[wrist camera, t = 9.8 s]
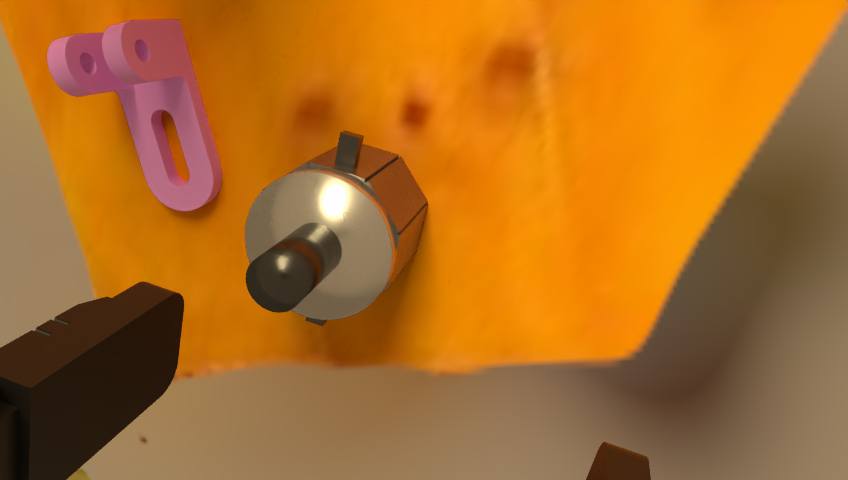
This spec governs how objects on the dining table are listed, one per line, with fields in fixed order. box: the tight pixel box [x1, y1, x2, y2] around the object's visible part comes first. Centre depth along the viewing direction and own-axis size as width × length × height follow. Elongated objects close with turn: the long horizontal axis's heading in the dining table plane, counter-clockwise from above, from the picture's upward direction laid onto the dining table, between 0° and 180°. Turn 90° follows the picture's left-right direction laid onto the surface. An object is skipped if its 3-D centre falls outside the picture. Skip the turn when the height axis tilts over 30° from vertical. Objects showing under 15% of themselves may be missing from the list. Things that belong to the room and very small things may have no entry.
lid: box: [245, 168, 397, 320], centre depth 38 cm, size 9×9×7 cm
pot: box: [263, 131, 428, 326], centre depth 44 cm, size 13×9×7 cm
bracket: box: [47, 19, 222, 211], centre depth 46 cm, size 13×6×7 cm, turn 11°
